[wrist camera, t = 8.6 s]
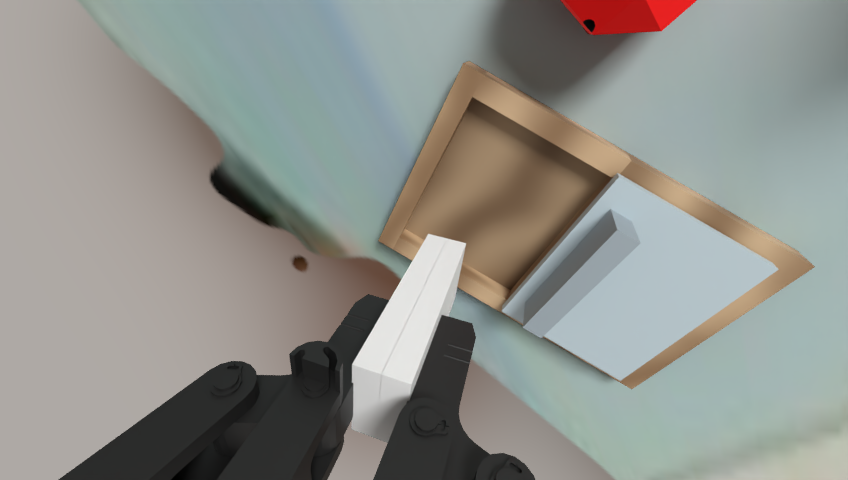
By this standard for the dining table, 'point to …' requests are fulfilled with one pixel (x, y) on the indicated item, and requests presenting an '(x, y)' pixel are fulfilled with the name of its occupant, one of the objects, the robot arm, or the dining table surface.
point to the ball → (625, 14)
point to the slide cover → (632, 279)
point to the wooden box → (542, 199)
